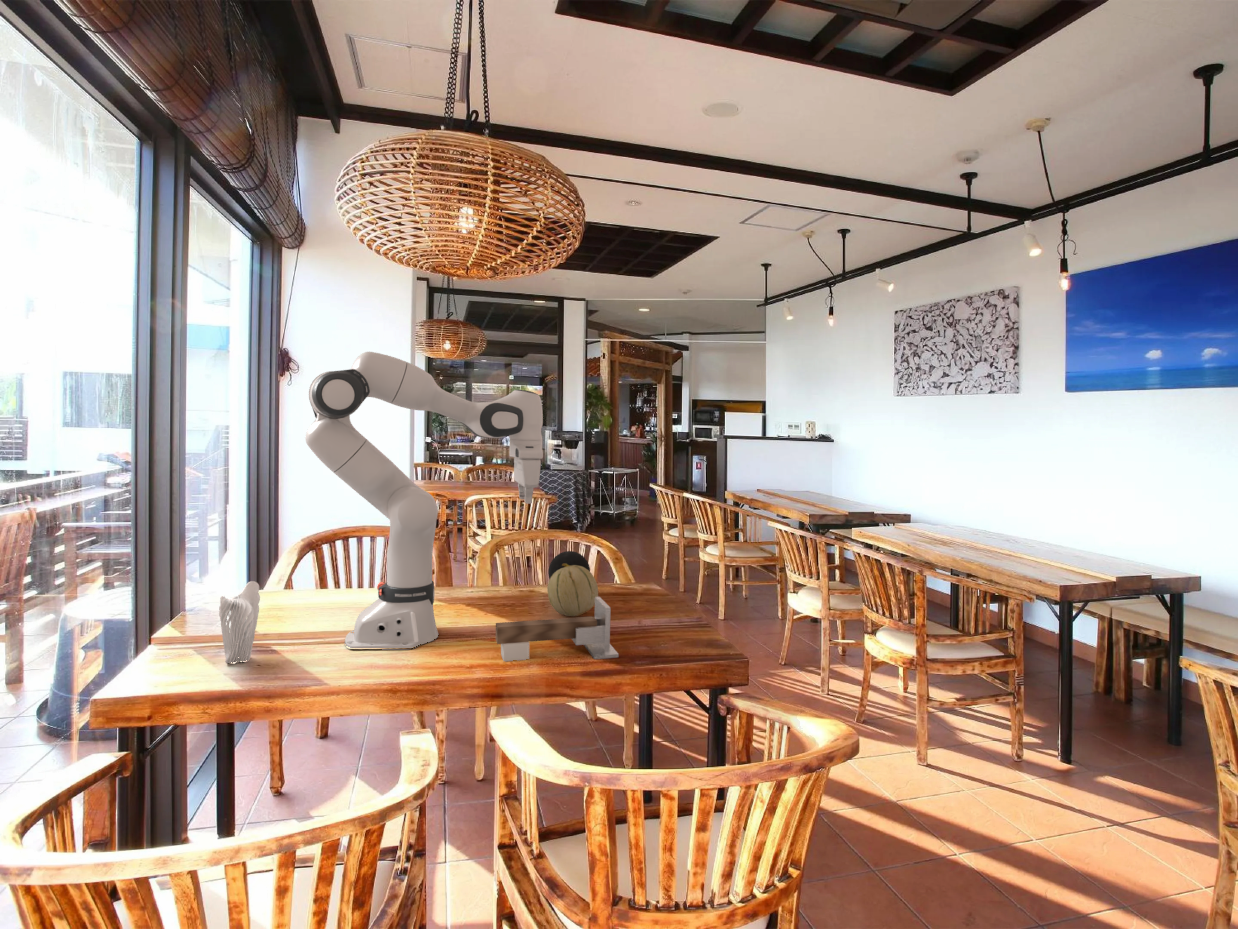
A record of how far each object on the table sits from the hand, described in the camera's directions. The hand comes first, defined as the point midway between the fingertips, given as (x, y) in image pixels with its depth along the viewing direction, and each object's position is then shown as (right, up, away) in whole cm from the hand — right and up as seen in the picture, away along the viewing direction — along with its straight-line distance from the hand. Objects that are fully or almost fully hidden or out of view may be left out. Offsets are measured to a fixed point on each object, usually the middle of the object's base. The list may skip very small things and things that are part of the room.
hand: (525, 501), depth 184 cm
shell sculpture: (-61, -35, -31) cm, 77 cm away
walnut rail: (+8, -32, -21) cm, 39 cm away
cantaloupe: (+12, -34, +12) cm, 38 cm away
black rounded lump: (+10, -33, +30) cm, 45 cm away
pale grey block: (+1, -36, -23) cm, 43 cm away
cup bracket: (+19, -36, -18) cm, 44 cm away
